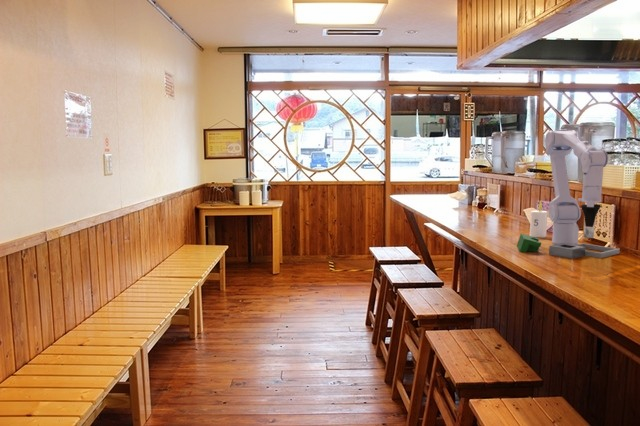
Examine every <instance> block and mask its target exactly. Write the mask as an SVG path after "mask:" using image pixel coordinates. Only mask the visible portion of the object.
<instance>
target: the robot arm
mask: <svg viewBox="0 0 640 426" xmlns="http://www.w3.org/2000/svg"><path fill="white" fill-rule="evenodd" d="M544 145H545V151H546V155H548V156H549V159H550V166H551V175H552V180H553V181H552V182H553V190H554V196H555V197H554V198H553V199H552V200H550V202H549V203H548V217H549V219H550V220H551V222H553V223H552V224H553V225H552V226H553V227H552V238H551V239H552V240H551V243H552V244H554V245H556V244H561V243H565V244H571V245H577V244H579V234H580V233H579V230H580V229H579V225H578V224H577V223H578V222H577V221H579V220H580V218H581V215H582V212H583V217H584V225H586V227H593V225H594V221H596V217H597V215H598V212H599V210H600V209H601V204H600V203H602V202H603V201H602V191H603V190H602V189H603V179H604V168H605V167H606V166H607V164H608V162H609V156H608V152H606V150H604V149H601V150H598V149H597V148H596V146H593V145H591V144H590V142H589V141H588V140H584V141H583V140H582V141H581V140H580V139H579V137H578V132H576V131H575V130H548V131H547V133H546V135H545V138H544ZM572 151H573V154H574V156H576V157H577V158H578V160H580V165H581V168H582V169H581V171H582V173H583V178H582V190H581V191H582V193H581V198H580V197H579V198H577V199H576V198H574V197H572V196H571V191H570V183H569V178H568V177H569V176H568V171H567V165H566V156H568V155H570V154H571V152H572ZM579 202H583V203H584V204H581V205H580V206H579ZM580 207H581V208H580ZM594 226H595V225H594Z"/></svg>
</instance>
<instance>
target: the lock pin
mask: <svg viewBox="0 0 640 426" xmlns="http://www.w3.org/2000/svg"><path fill="white" fill-rule="evenodd" d="M595 221H596V220H595ZM595 221H594V225H593V227H586V225H585V224H584V228H583V238H588V239H594V236H595V224H596V223H595Z"/></svg>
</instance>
